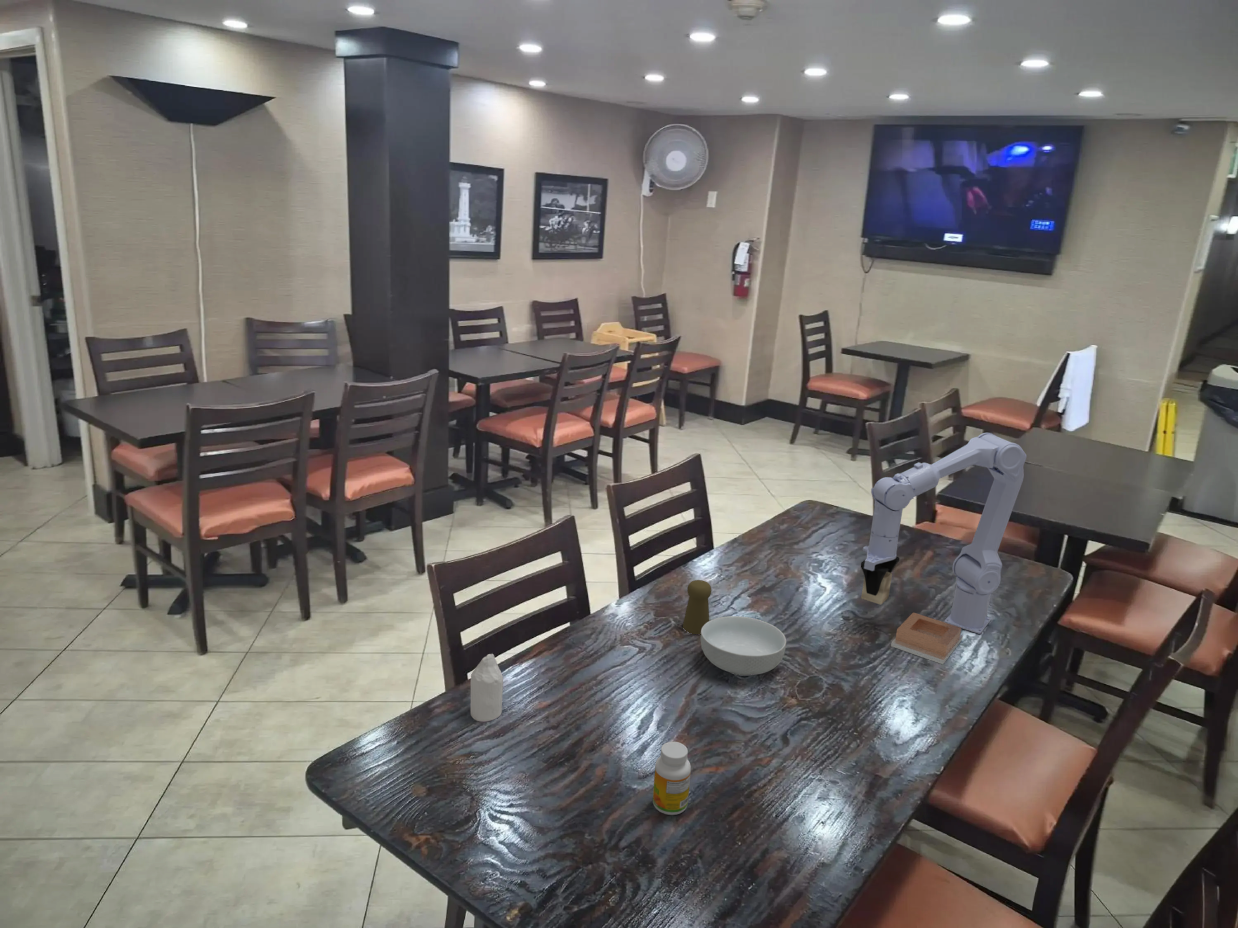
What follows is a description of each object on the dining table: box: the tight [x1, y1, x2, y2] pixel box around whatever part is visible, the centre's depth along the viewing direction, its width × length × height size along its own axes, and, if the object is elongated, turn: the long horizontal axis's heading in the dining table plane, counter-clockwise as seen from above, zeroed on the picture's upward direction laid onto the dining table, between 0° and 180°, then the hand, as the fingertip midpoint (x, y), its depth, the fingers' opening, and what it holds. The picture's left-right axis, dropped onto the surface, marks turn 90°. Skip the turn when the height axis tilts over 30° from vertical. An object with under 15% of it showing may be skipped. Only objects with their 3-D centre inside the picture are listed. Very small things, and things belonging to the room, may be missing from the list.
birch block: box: [860, 572, 893, 606], centre depth 178 cm, size 4×4×6 cm
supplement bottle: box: [652, 741, 692, 816], centre depth 122 cm, size 5×5×10 cm
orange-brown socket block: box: [890, 612, 964, 665], centre depth 176 cm, size 14×11×4 cm
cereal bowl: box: [699, 615, 787, 677], centre depth 162 cm, size 17×17×7 cm
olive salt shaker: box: [682, 579, 713, 635], centre depth 176 cm, size 6×6×11 cm
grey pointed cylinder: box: [470, 653, 504, 723], centre depth 142 cm, size 6×12×6 cm
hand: (875, 590), depth 179 cm, fingers closed on birch block, 4 cm apart
